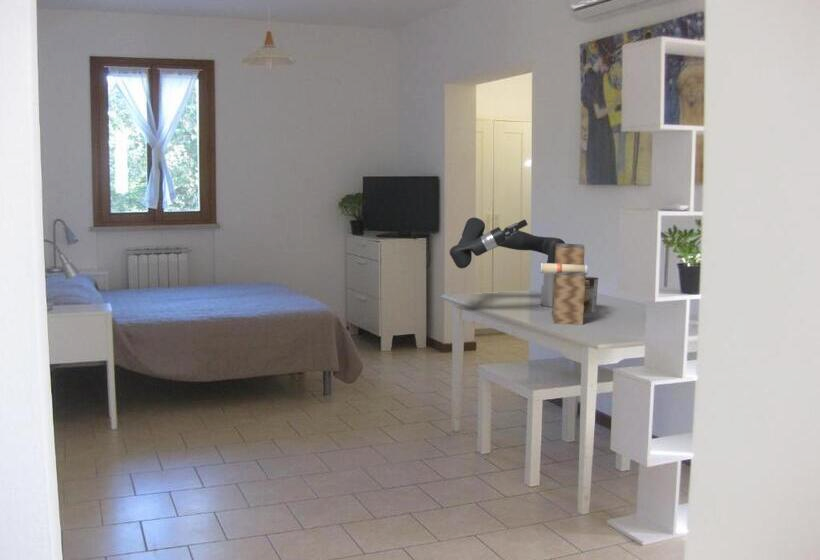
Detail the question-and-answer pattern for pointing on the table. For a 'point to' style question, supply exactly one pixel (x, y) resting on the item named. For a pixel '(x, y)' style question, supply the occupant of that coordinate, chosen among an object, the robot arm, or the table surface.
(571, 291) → the stand
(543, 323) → the table surface
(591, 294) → the coffee box
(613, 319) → the table surface
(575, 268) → the cream long cylinder
